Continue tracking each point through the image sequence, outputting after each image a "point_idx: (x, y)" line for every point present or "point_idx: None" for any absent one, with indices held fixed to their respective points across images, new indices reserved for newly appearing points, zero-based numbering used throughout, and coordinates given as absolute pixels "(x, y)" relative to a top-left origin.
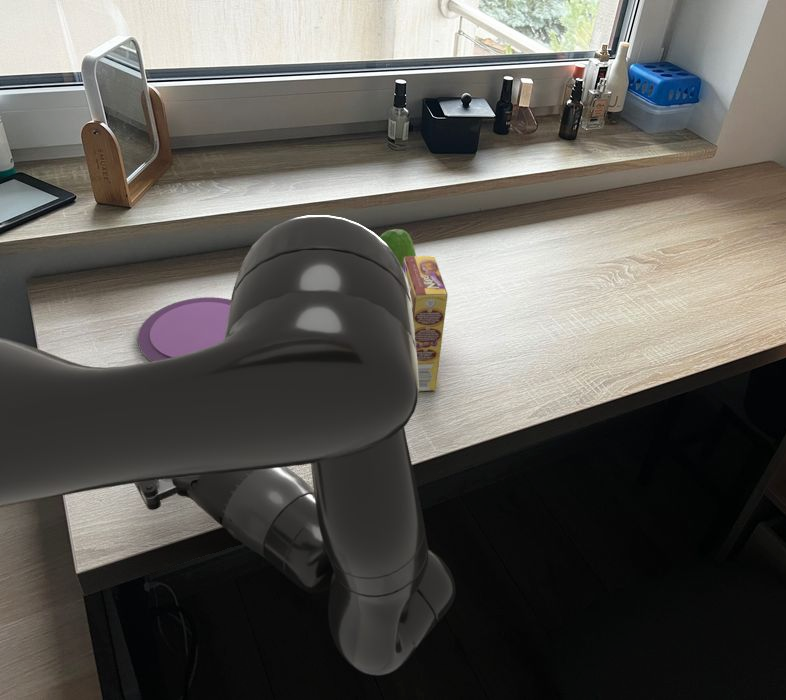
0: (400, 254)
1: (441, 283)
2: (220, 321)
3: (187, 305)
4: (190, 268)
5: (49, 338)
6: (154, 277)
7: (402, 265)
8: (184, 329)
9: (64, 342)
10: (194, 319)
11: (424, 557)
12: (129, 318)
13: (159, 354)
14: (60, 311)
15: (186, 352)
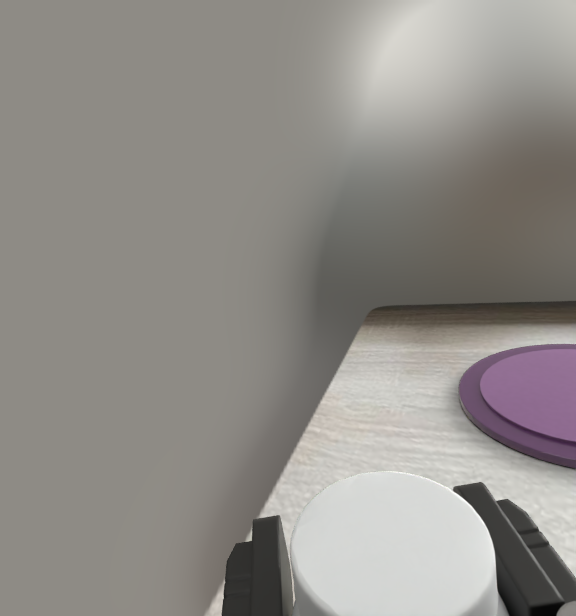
0: None
1: None
2: None
3: (558, 350)
4: (570, 312)
5: (350, 359)
6: (511, 317)
7: None
8: (546, 382)
9: (363, 366)
10: (568, 371)
11: None
12: (459, 355)
13: (488, 410)
14: (379, 335)
15: (543, 419)
